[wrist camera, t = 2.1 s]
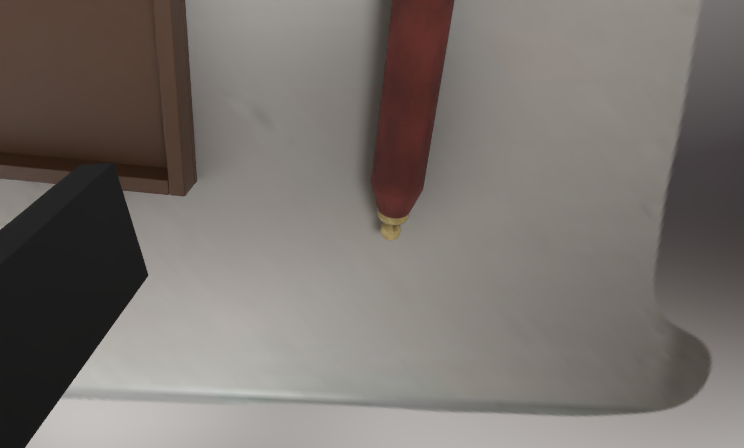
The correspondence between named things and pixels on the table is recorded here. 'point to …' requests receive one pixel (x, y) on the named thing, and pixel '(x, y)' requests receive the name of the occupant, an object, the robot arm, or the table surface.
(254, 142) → the table surface
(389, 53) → the gavel
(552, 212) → the table surface
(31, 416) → the robot arm
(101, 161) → the tray
